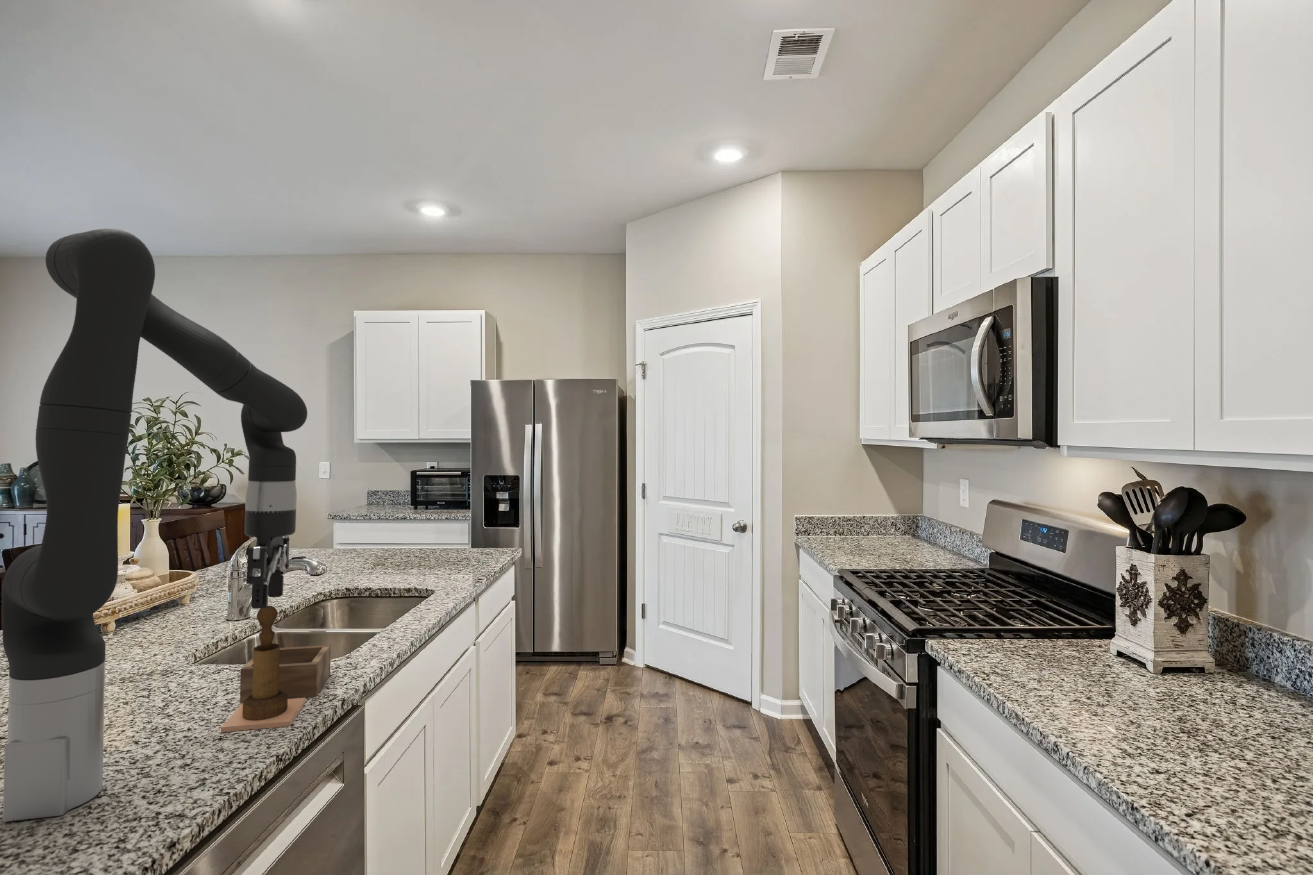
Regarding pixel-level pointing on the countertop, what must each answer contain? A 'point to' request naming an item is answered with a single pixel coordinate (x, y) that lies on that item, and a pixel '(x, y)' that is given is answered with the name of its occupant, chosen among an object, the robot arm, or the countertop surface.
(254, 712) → the mortar and pestle
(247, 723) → the terracotta tile
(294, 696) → the open wooden box
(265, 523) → the robot arm
